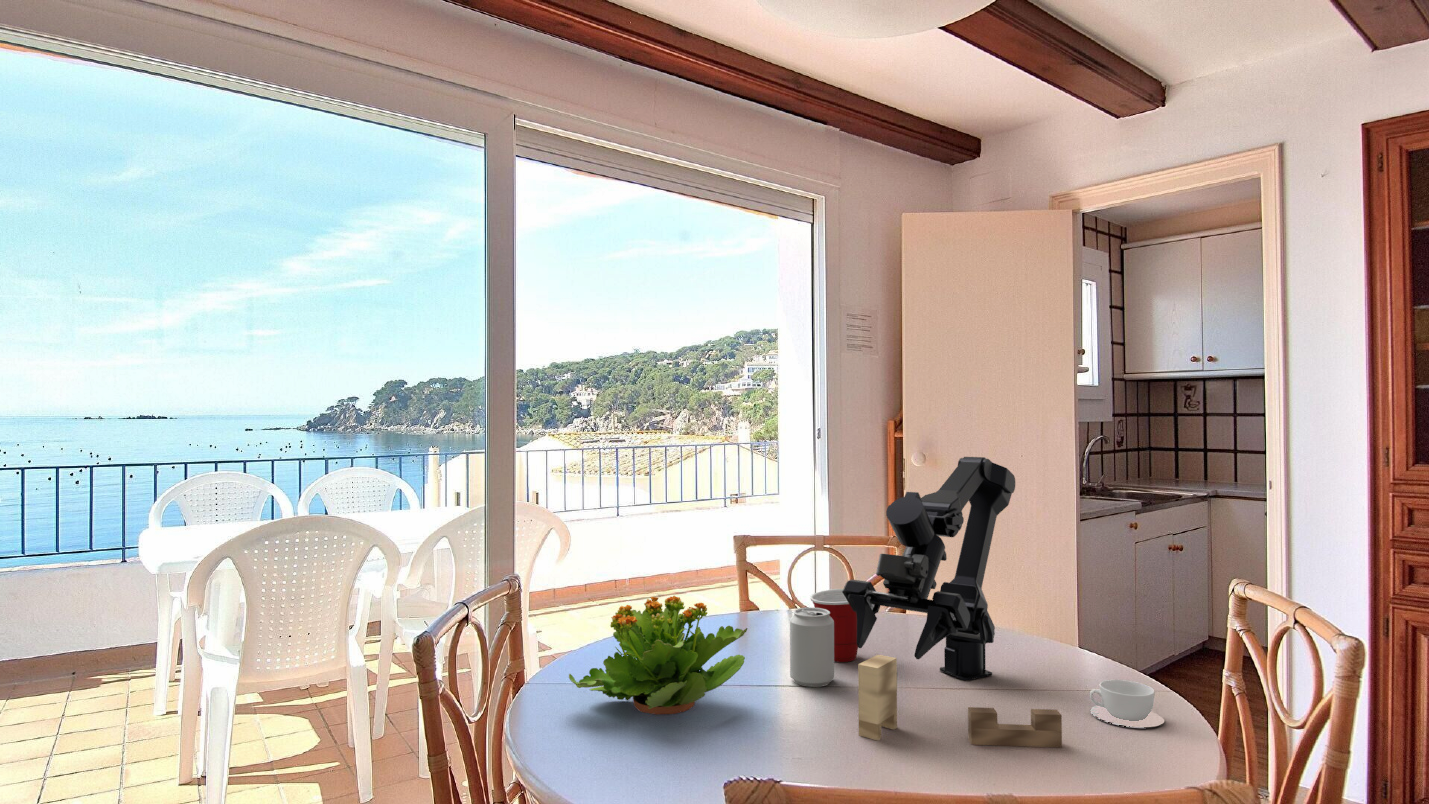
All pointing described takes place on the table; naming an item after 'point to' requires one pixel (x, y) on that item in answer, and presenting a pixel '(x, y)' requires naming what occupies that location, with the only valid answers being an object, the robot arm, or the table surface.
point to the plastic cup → (839, 622)
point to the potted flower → (663, 658)
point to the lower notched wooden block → (1015, 729)
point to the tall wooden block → (877, 695)
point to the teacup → (1124, 699)
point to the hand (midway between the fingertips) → (886, 652)
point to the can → (812, 647)
